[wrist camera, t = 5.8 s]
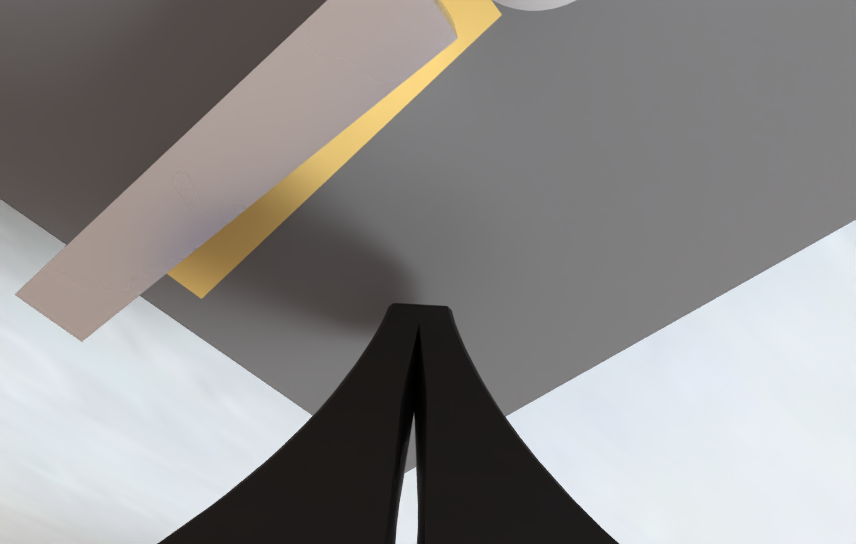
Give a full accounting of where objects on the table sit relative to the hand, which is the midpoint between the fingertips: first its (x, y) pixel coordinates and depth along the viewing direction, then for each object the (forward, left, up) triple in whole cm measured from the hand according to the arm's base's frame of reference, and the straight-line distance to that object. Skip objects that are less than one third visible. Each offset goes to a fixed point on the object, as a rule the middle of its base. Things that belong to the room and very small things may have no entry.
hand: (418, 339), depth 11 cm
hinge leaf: (-1, -5, -1) cm, 6 cm away
